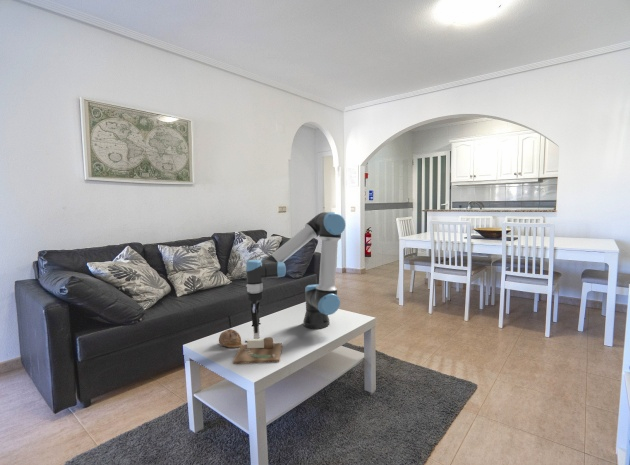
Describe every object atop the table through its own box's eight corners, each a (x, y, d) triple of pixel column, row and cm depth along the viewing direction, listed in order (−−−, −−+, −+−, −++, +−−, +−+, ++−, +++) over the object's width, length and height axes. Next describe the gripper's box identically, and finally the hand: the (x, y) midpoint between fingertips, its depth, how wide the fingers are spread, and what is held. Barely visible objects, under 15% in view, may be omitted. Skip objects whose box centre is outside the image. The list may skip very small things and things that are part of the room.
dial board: (282, 345, 162) (282, 342, 162) (279, 362, 144) (279, 358, 144) (241, 347, 162) (241, 344, 162) (233, 364, 144) (233, 360, 144)
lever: (273, 345, 159) (273, 337, 159) (272, 348, 155) (272, 340, 155) (246, 346, 159) (245, 338, 159) (244, 350, 154) (244, 341, 154)
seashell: (221, 350, 157) (218, 329, 161) (219, 353, 164) (216, 333, 168) (243, 345, 161) (240, 325, 165) (240, 349, 169) (237, 329, 173)
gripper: (249, 288, 168) (251, 333, 170) (244, 295, 155) (246, 343, 157) (264, 288, 169) (265, 333, 170) (260, 294, 156) (262, 343, 157)
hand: (256, 338), depth 164 cm, fingers closed
